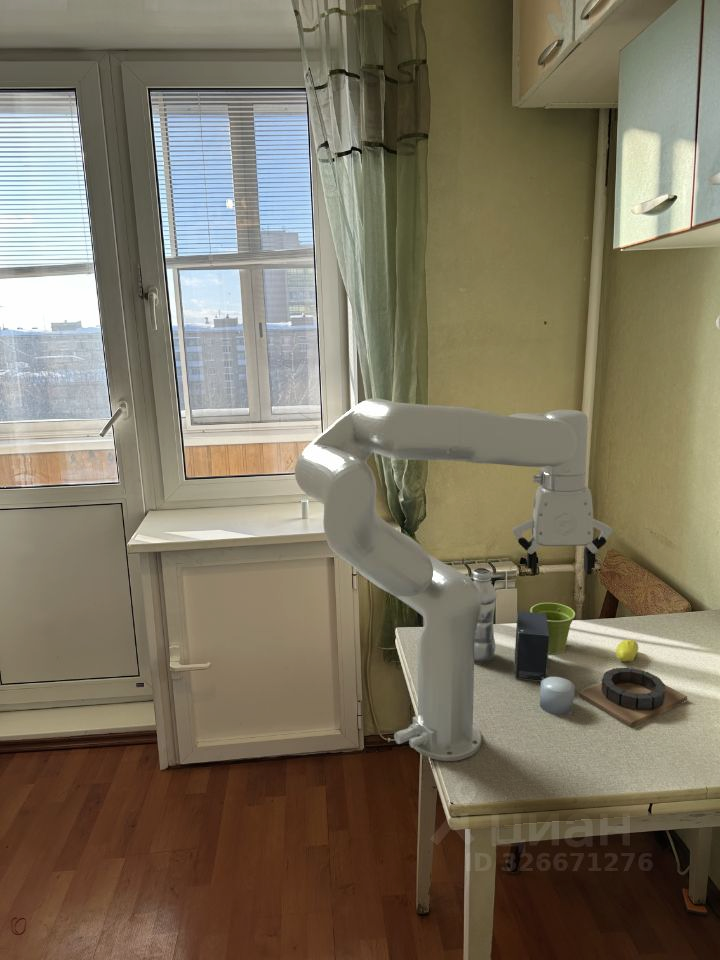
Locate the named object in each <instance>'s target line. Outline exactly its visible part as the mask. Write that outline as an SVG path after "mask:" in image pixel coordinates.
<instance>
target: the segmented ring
mask: <svg viewBox="0 0 720 960" xmlns="http://www.w3.org/2000/svg"><path fill="white" fill-rule="evenodd" d="M601 683H602V689H601V690H602V693H603V694H604V696H605V697H606V699H607V700H609V701H611V702H613V703H614V704H616V705H618V706H620V705H621V707H624V708H628V709H632V710H636V709H637V711H645V710H654V709H656V708H658V707H661V706H662V705H663V703H664V698H665V689H666V686H667V685H666V684H665V683H664V682H663V681H662V679H661V677H658V676H657V675H655V674H653V673H651V672H649V671H646V670H642V669H638V668H634V667H614V668H612V669H609V670H607V671H605V672H604V674H603V676H602V678H601ZM619 683H632V684H636V685H640V686H643V687H645V688H647V689H648V690H650V691H651V692H650V693H646V694H635V693H631V692H627V691H624V690H622V689H620V688H618V687H616V686H615V685H617V684H619ZM665 685H666V686H665Z"/></svg>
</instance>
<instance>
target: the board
mask: <svg viewBox="0 0 720 960" xmlns="http://www.w3.org/2000/svg"><path fill="white" fill-rule="evenodd" d="M615 686H616V687H618V688H620V689H622V690H624V691H627V692H631V693H635V694H646V693H650V692H651V691H650V690H648V689H647V688H645V687H643V686H640V685H636V684H632V683H619V684H617V685H615ZM665 686H666V689H665V698H664V703H663V705H662V706H661V707H658V708H656V709H654V710H645V711H637V709H636V710H632V709H628V708H624V707H621V705H620V706H618V705H616V704H614V703H613V702H611V701H609V700H607V699H606V697H605V696H604V694H603V693H602V690H601V689H602V682H599V683H597V684H594V685H592V686H590V687H587V688H585V689H583V690H581V691H578V697H579V698H580V699H582V700H584V702H585V701H586V702H587V703H589V704H590V705H592V706H594V707H595V708H597V709H598V710H599V711H601V712H604V714H607V715H609V717H612V718H614V719H615V720H616V721H618V722H620V723H622V724H624V725H625V726H627V727H629V728H630V729H631V728H633V727H635V726H637V725H640V724H641V723H644V722H646V721H648V720H650V719H652V718H654V717H656V716H659V715H660V714H663V713H665V712H667V711H669V710H671V709H673V708H675V707H678V706H679V705H681V703H682V702H684V701H686V700H687V701H688V695H685V694H683V693H682V692H680V691H678V690H676V689H674V688H673V687H670V686H668V685H666V684H665ZM687 701H686V702H687ZM684 703H685V702H684ZM678 704H679V705H678ZM682 704H683V703H682Z"/></svg>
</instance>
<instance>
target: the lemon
mask: <svg viewBox="0 0 720 960" xmlns="http://www.w3.org/2000/svg"><path fill="white" fill-rule="evenodd" d="M638 651H639V644H638V642H637V641H636V640H634V639H625V640H623V641H620V642H619V644H618V645H617V647H616V650H615V655H616V659H618V660H619V661H621V662H632V661H634V659H635V657H636V655H638Z"/></svg>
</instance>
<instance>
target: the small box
mask: <svg viewBox="0 0 720 960" xmlns="http://www.w3.org/2000/svg"><path fill="white" fill-rule="evenodd" d="M548 645H549V633H548V626H547V618H546V614H544V613H533V612H530V611H521V610H517V611H516V632H515V647H514V675H515V676H514V678H515V680H528V681H535V682H536V681H537V682H541V681H542V680H543V679H545V678H547V672H548V660H549V659H548V657H549V653H548Z"/></svg>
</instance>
